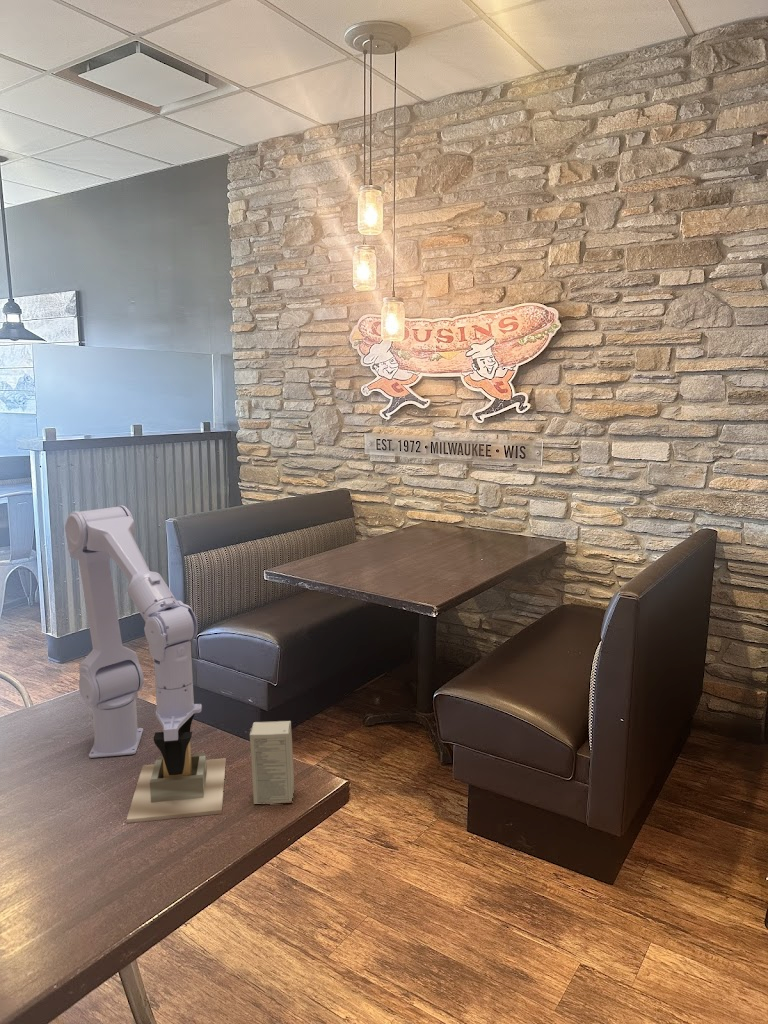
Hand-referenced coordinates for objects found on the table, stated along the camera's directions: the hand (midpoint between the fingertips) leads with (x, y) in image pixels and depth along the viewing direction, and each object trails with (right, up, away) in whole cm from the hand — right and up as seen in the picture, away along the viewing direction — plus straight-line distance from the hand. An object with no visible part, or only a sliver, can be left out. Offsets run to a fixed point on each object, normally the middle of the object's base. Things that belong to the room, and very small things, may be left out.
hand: (178, 761), depth 117 cm
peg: (0, -4, +1) cm, 4 cm away
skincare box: (+16, -6, -1) cm, 17 cm away
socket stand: (0, -5, +1) cm, 5 cm away
